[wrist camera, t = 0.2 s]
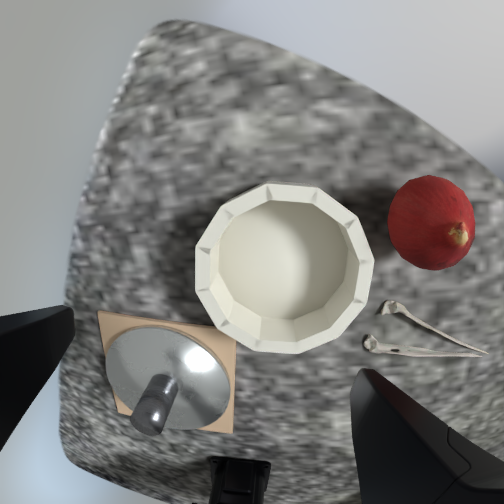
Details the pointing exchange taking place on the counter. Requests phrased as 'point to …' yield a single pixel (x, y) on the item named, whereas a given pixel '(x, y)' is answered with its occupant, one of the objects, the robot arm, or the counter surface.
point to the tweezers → (407, 350)
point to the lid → (167, 379)
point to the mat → (209, 335)
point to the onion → (431, 223)
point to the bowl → (283, 268)
